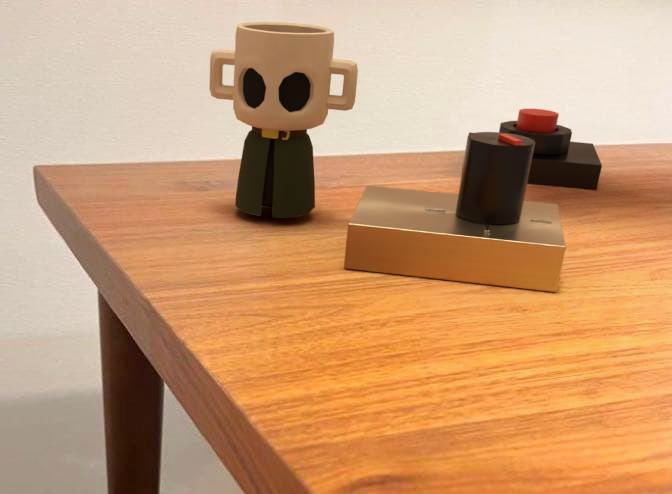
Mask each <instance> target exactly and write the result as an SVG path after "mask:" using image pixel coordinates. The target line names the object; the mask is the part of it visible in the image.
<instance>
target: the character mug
mask: <svg viewBox="0 0 672 494" xmlns="http://www.w3.org/2000/svg"><path fill="white" fill-rule="evenodd" d="M234 37H235V39H234V40H235V41H234V44H235V45H234V47H235V48H234V49H222V48H217V49H214V50H211V53H210V57H209V91H210V96H211V97H212V98H215V99H218V100H228V101H232V103H233V105H232V106H233V107H232V109H233V112H234V115H235V118H236V120H237V121H239V122H241V123H243V124H245V125H247V126H250V127H251V130H249V131H248V132H247V135H246V136H245V139H244V141H243V148H242V152H241V159H240V165H239V171H238V177H237V185H236V194H235V203H234V207H235V208H237V209H238V210H240V211H241V212H243V213H245V214H249V215H254V216H260V217H261V216H262V208H267V209H272V210H271V211H272V212H271V217H272V218H275V219H276V218H277V219H279V218H280V219H281V218H283V219H284V218H285V219H286V218H288V219H289V218H298V217H303V216H307V215H309V214H310V213H311V212H312V211H313V210H314V209H315V208H316V184H315V181H316V180H315V165H314V163H315V162H314V145H313V143H312V140H311V137H310V135H309V134H308V130H312V129H315V128H317V127H319V126H323V125H324V123H325V121H326V119H327V117H328V115H329V110H333V111H334V110H335V111H343V112H344V111H345V112H346V111H349V110H353V108H354V106H355V103H356V96H357V95H356V94H357V85H358V75H359V69H358V64H357V62H355V61H353V60H349V59H339V58H333V57H334V56H333V55H334V47H335V31H334V29H331V28H328V27H324V26H319V25H313V24H306V23H299V22H298V23H297V22H282V21H281V22H280V21H251V22H249V21H248V22H242V23H238V24H236V30H235V36H234ZM225 65H227V66H233V67H234V69H233V85H229V84H228V85H227V84H223V77H224V76H223V73H224V66H225ZM332 75H340V76H343V80H342V81H343V82H342V83H343V84H342V92H341V93H342V94H341V95H337V94H330V93H331V81H332Z"/></svg>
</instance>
